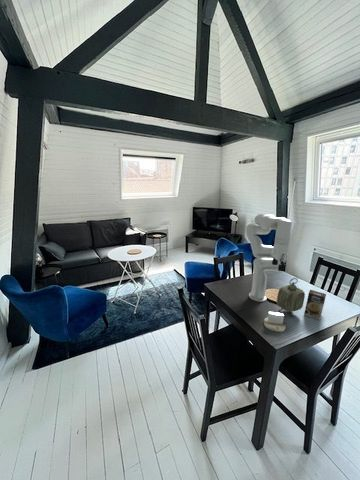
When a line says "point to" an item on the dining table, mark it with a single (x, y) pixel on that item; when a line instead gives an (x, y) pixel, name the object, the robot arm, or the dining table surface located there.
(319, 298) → the coffee box
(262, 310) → the dining table surface
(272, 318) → the dial knob
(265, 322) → the dial base
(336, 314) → the dining table surface
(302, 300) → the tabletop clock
